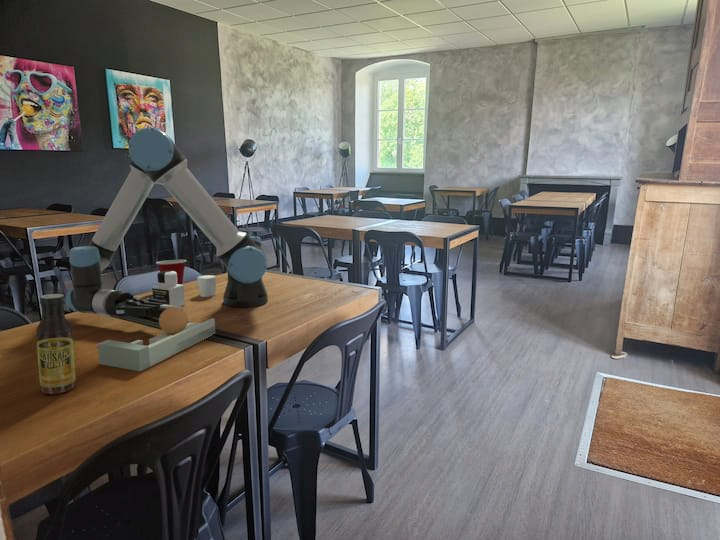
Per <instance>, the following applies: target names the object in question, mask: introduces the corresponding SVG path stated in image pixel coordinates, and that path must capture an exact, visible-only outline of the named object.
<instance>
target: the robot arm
mask: <svg viewBox="0 0 720 540" xmlns="http://www.w3.org/2000/svg"><path fill="white" fill-rule="evenodd" d="M128 152H129V157H130V158H131V162H130V164H129V167H130V172H129V174H128V176H127V177H126V179H125V181H124V183H122V184H123V185H122V186H121V188H120V190H119V191H118V193H117V195H116V197H115V199H114V200H113V202H112V203H111V205H110V207H109V209H108V210H107V212H106V214H105V216H104V218H103V219H102V221H101V223H100V224H99V226H98V228H97V229H96V231H95V233H94V235H93V237H92V239H91V240H90V242H89V244H88V246H84V245H83V246H76V247H72V248H70V250H69V259H68V261H69V265H70V272H71V281H72V287H71V288H70V289H69V290H68V291H67V292H66V296H65V297H64V302H65V303H66V306H67V307H68V308H69V309H70V310H72V311H75V312H79V313H81V314H91V315H98V316H99V315H100V316H106V318H109V317H113V318H120V319H123V318H127V317H138V318H139V317H141V318H142V317H143V318H146V317H147V318H152V317H154V316H155V319H159V318H160V315H161V314H162V312H163V311H164V310H166V309H168V308H171V307H176V308H180V309H182V310H183V311H184V306H174V305H169V303H168V302H167V301H163V300H158V299H154V298H153V296H148V297H147V298H146V299H144V298H140V297H134V295H132V294H131V292H129V291H124V290H116V289H115V290H114V289H108V288H107V289H106V288H103V280H102V279H103V278H102V272H103V271H104V270H106V269H107V268H108V267H109V266H110V265H111V263H112V258H113V257H114V255H115V254H116V251H117V250H118V248H119V246H120V244H121V242H122V241H123V239H124V237H125V235H126V234H127V232H128V230H129V229H130V227H131V225H132V223H133V222H134V220H135V218H136V216H137V214H138V213H139V212H140V209H141V208H142V206H143V204H144V202H145V201H146V199H147V197H148V195H149V193H150V192H151V190H152V188H153V187H154V185H155V184H156V185H162V186H163V187H164V188H165V189H166V190H167V192H168V193H169V194H170V196H172V197H173V199H174V200H175V201H176V202H177V203H178V205H179V206H180V207H181V208H182V209H183V211H184V212H185V213H186V214H187V215H188V216H189V217H190V219H191V220H192V221H193V222H194V223H195V224H196V225H197V227H198V228H199V229H200V230H201V231H202V232H203V234H204V235H205V237H207V239H209V241H210V243H212V244H213V245H214V246H215V247H214V248H216V257H217V258H218V259H219V260H220V261H221V263H222V264H223V266H225V267H226V268H227V270H226V271H227V283H226V286H225V289H224V293H223V297H222V299H223V304H224V305H226V306H228V307H234V308H249V307H257V306H261V305H264V304H267V302H268V299H269V296H268V291H267V289H266V287H265V284H264V281H263V276H264V275H265V273H266V272H267V266H268V260H267V257H266V254H265V253H264V252H263V250H262V245H263V244H262V241H261V240H262V239H261V237H260V236H250V234H248V233H247V232H245V231H240V230H238V228H237V227H236V226H235V224H234V223H233V222H232V221H231V219H230V217H228V215H227V214H226V213H225V212H224V211H223V210H222V209H221V207H220V206H219V205H218V203H216V201H215V200H214V199H213V198H212V197H211V195H210V194H209V192H208V191H207V190H206V189H205V188H204V187H203V186H202V184H201V183H200V182H199V180H198V179H197V178H196V177H195V175H194V174H193V173H192V172H191V170H190V169H189V168H188V159H187V158H186V156H185V155H184V154H183V153H182V151H181V150H180V149H179V148H178V147H177V146H176V144H175V142H174V141H173V139H171V137H170V136H169V135H168V134H167V133H166V132H165V131H163V130H161V129H159V128H156V127H144V128H141V129H139V130H137V131H136V132H134V133H133V134H132V136H131V137H130V139H129V143H128Z"/></svg>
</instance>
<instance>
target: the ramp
mask: <svg viewBox="0 0 720 540" xmlns="http://www.w3.org/2000/svg"><path fill="white" fill-rule="evenodd" d="M213 334H215V335H216V322H215V318H213V317H212V318H209V319H207V320H204V321H202V322H200V323H198V322H187V325H186V327H185V329H184V330H183V331H181V332H179V333H177V334H169V333H166V332H163V333H161V334H158V335H157V336H154V337H152V338H149V339H148V343H149V344H148V345H144V340H142V339H137V340H134V341H132V342H125V341H119V340H112V339H107V340H103V341H101V342H99V343H97V352H98V353H97V354H98V362H99V365H101V366H102V365H103V366H108V367H113V368H114V367H115V368H119V369H124V370H129V371H135V372H143V371H144V370H147V369H148V368H150V367H153V366H154V365H156V364H159V363H160V362H162V361H164V360H166V359H168V358H170V357H172V355H173V356H175V355H177V354H178V352H179V353H180V351H181V352H182V350H183V351H184V349H185V350H186V348H187V349H188V347H189V348H190V346H191V347H192V345H193V346H195V345H197V344H198V342H199V343H201V342H202V340H203V341H205V340H206V338H207V339H208V337H209V338H210V336H211V337H212V335H213ZM213 336H214V335H213ZM204 339H205V340H204ZM200 341H201V342H200ZM196 343H197V344H196ZM194 344H195V345H194ZM176 353H177V354H176ZM174 354H175V355H174Z"/></svg>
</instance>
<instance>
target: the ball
mask: <svg viewBox="0 0 720 540" xmlns="http://www.w3.org/2000/svg"><path fill="white" fill-rule="evenodd" d="M188 321H189V320H188V314H187V313H186V312H185V311H184V309H183V310H182V309H180V308H176V307H171V308H168V309H166V310H164V311H163V312H162V314H160V318H158V324H159V327H160V329H161V330H162V331H163V332H164V333H169V334H177V333H179V332H181V331H183V330H184V329H185V327H186V325H187V323H189V322H188Z"/></svg>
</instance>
